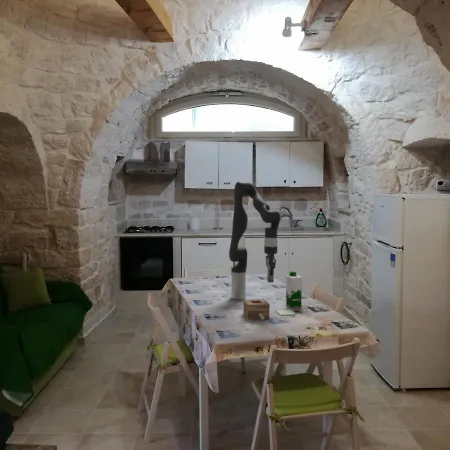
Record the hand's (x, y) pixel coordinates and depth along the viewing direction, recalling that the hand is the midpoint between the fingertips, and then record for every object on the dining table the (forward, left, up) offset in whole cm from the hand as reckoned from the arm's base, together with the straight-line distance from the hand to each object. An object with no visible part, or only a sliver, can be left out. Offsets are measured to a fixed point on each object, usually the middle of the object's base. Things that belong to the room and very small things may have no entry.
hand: (270, 274), depth 269 cm
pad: (+6, +8, -21) cm, 23 cm away
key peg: (0, 0, -4) cm, 4 cm away
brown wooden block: (+14, -10, -21) cm, 27 cm away
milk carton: (-10, +18, -22) cm, 29 cm away
